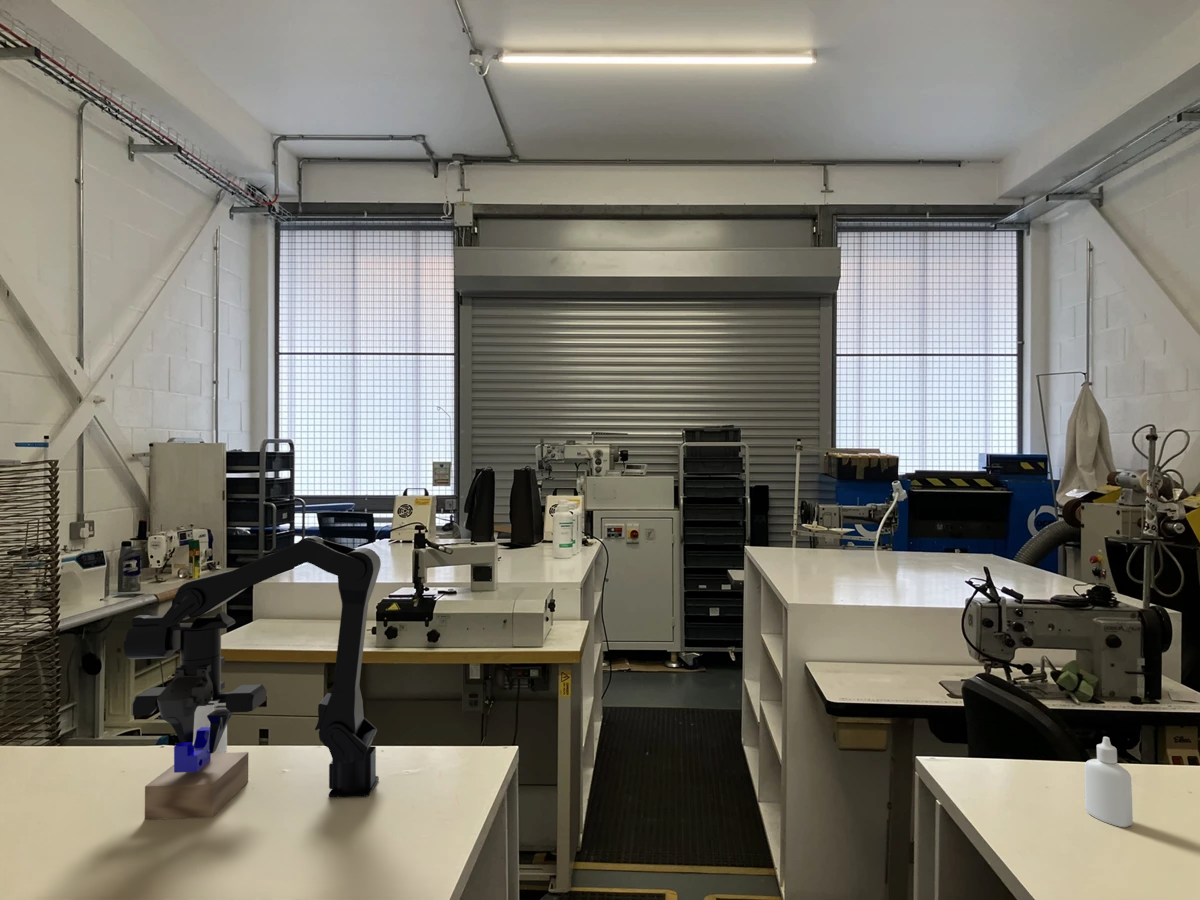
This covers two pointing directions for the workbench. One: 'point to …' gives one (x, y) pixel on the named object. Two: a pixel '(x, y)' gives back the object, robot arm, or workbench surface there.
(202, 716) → the can
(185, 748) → the cable holder
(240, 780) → the plate
